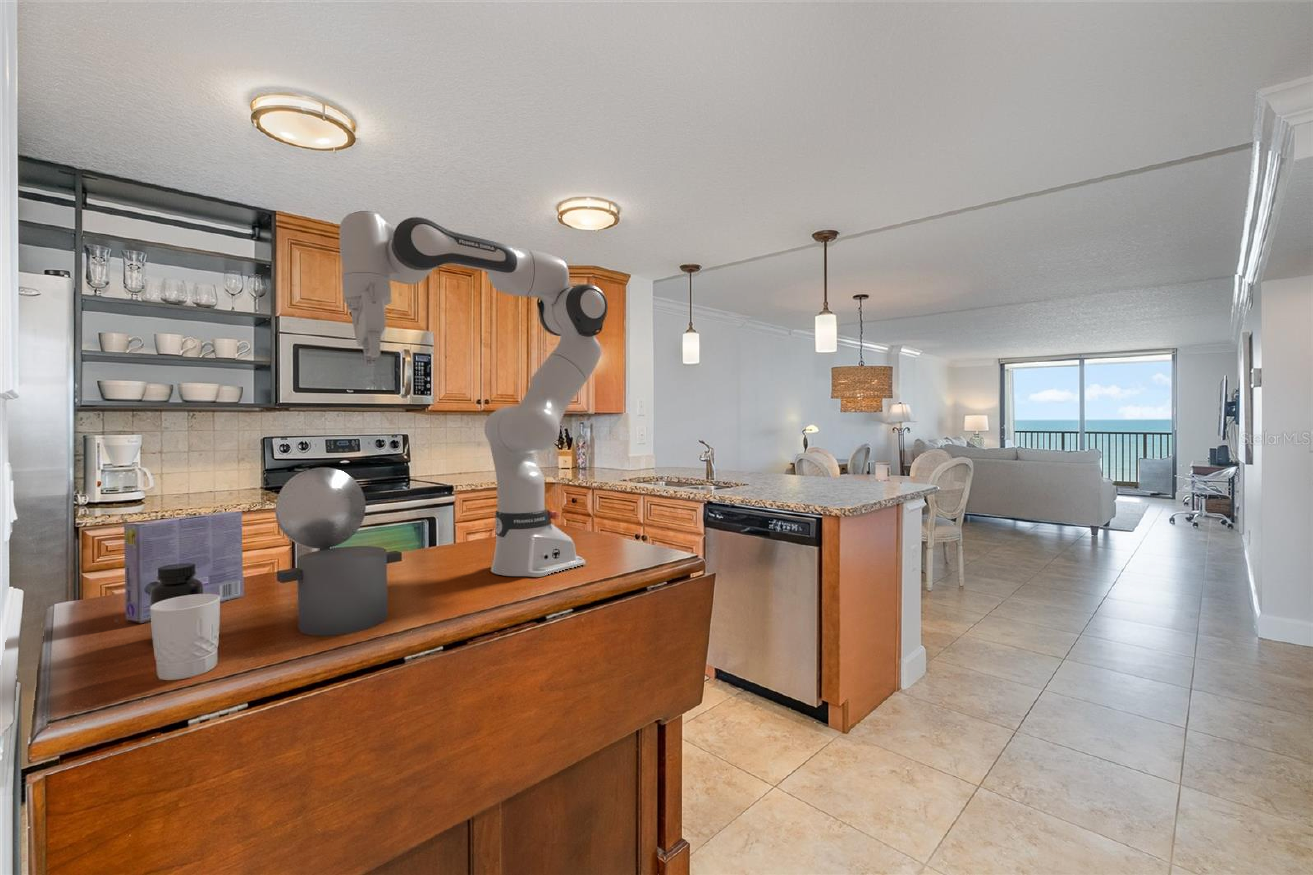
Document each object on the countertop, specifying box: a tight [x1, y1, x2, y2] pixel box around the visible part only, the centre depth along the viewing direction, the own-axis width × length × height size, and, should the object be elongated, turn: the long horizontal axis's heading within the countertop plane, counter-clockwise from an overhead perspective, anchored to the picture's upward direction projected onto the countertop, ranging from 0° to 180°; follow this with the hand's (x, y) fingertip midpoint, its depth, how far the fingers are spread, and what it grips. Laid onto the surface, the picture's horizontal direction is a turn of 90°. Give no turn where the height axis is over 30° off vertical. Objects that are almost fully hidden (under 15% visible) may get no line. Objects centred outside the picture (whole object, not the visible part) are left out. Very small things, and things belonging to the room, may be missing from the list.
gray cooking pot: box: [276, 545, 403, 637], centre depth 105 cm, size 20×14×12 cm
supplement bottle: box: [150, 563, 203, 643], centre depth 98 cm, size 7×7×12 cm
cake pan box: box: [123, 510, 244, 624], centre depth 114 cm, size 19×5×18 cm, turn 157°
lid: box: [274, 466, 367, 550], centre depth 111 cm, size 15×15×2 cm
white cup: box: [150, 594, 221, 681], centre depth 85 cm, size 8×8×10 cm
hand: (372, 360), depth 120 cm, fingers open, 8 cm apart
